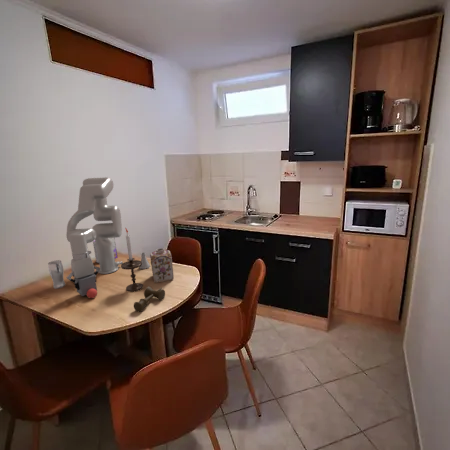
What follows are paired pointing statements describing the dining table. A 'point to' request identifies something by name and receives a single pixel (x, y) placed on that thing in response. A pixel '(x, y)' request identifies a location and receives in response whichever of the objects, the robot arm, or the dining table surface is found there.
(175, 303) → the dining table surface
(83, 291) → the matte gray cube
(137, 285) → the candlestick
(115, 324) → the dining table surface
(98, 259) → the white carton
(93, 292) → the ball
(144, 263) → the flask
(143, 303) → the kendama
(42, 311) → the dining table surface
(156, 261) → the decorative jar
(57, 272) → the beer glass
